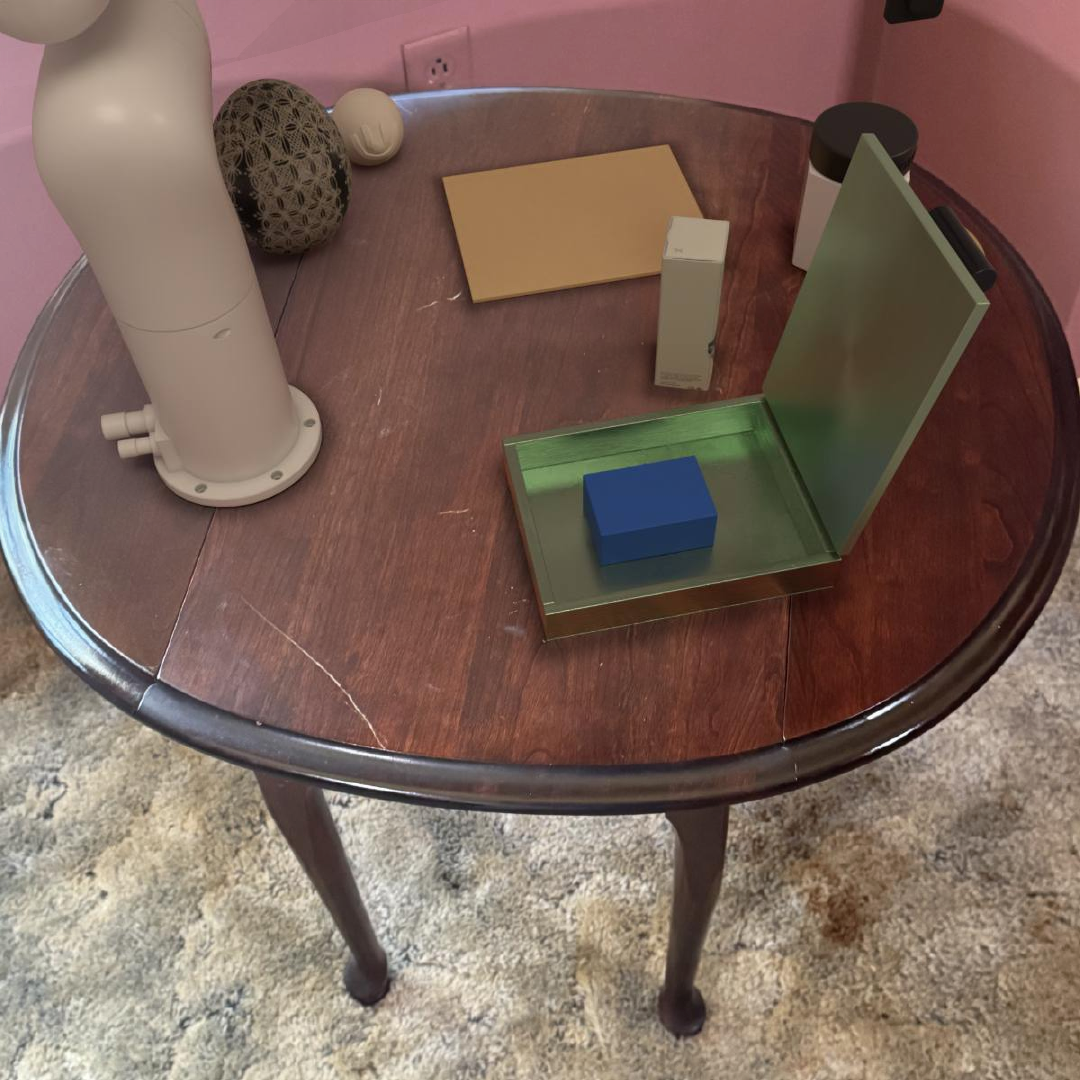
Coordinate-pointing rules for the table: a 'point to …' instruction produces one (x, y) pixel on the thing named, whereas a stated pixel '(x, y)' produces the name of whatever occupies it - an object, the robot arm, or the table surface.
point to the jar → (844, 163)
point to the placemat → (566, 221)
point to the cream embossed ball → (368, 125)
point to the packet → (649, 510)
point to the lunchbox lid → (872, 338)
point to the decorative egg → (282, 166)
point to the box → (690, 301)
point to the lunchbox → (681, 577)
